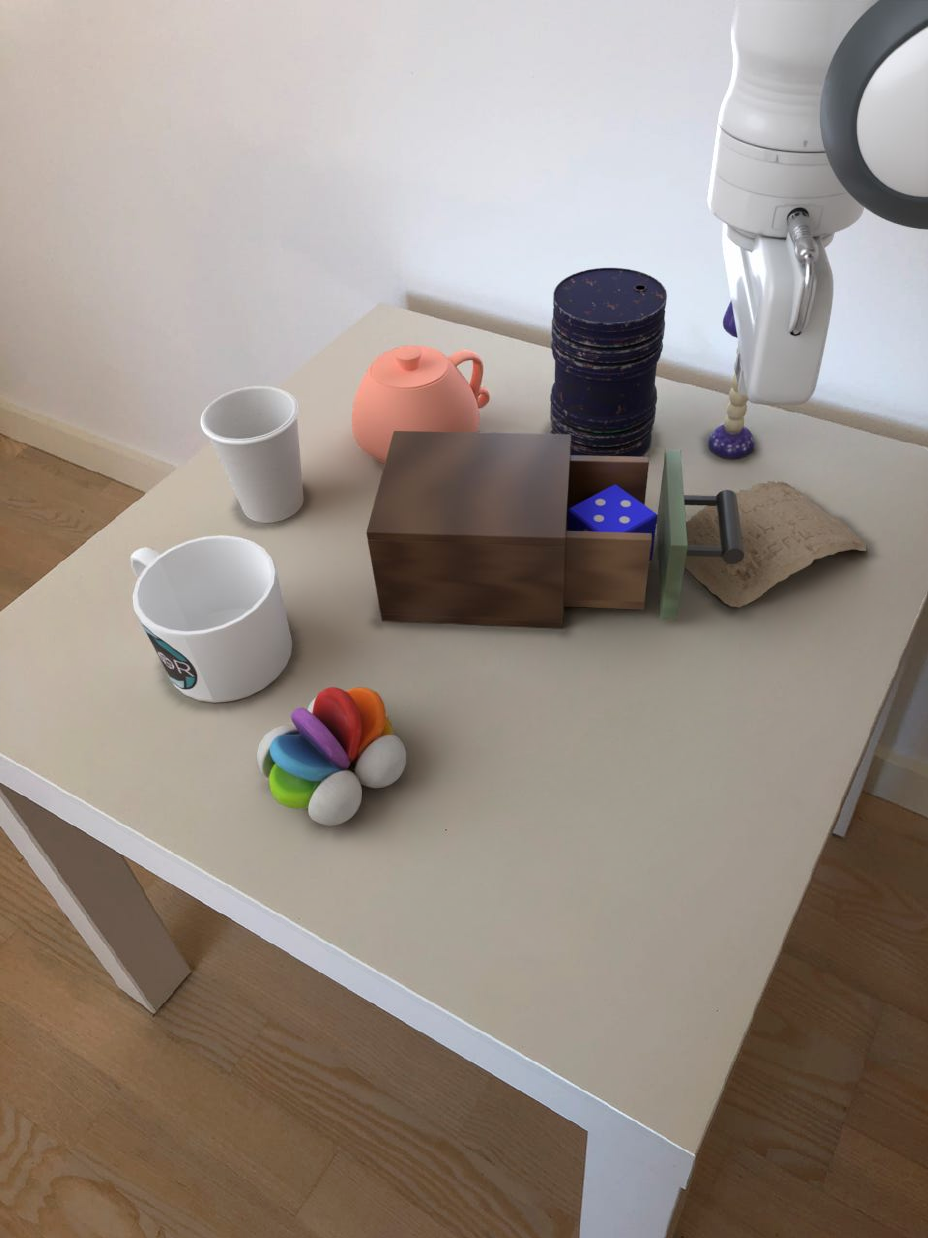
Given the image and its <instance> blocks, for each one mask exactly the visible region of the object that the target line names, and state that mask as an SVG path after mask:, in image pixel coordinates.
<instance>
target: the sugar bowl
mask: <svg viewBox="0 0 928 1238" xmlns="http://www.w3.org/2000/svg"><path fill="white" fill-rule="evenodd" d="M468 361H472V372H471V377H470V381H469V382H468V381H467V379H466V377H465V376H464V374H463V373H462V371H460V370H459V368H458V366H459V365H461V364H463V363H465V362H468ZM483 377H484V363H483V360H482V358H481V356H480V355H479V354H477V352H474V351H473V350H469V349H463V350H458V351H456V352H454V353H452V354H451V355H449V356H448V357H447V355H445V353H443V352H442V351H440V350H438V349H436V348H433V347H430V346H425V345H413V344H407V345H402V346H399V347H396V348H392V349H389V350H387V351H385V352H383V353H382V354H380V355H378V356H377V357H376V358H375V359H374V360H373V361H372V363H371V364H370V365H369V367H368V369H367V370H366V372H365V374H364V375H363V377H362V379H361V381H360V383H359V385H358V388H357V389H356V393H355V395H354V400H353V403H352V410H351V430H352V435H353V438H354V439H355V440H354V441H356V443H357V444H358V446H359V447H360V448H361V450H362V451H364V452H365V453H366V454H367V455H368V456H370V457H372V458H373V459H375V460H376V461H378V462H380V463H382V464H384V465H385V461H386V458H387V454H388V450H389V447H390V443H391V439H392V436H393V432H394V431H422V432H475V433H478V431H479V428H480V424H481V423H480V421H481V417H480V409H483V408H485V407H486V406H487V405H488V404H489V402H490V399H491V395H490V391H489V390H488V389H487V388H486V387H485V386H482V382H483Z"/></svg>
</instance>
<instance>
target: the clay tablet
mask: <svg viewBox="0 0 928 1238" xmlns="http://www.w3.org/2000/svg"><path fill="white" fill-rule="evenodd" d="M735 494H736V496H737V503H738V511H739V518H740V526H741V533H742V541H743V548H744V558H743V560H742V561H741V562H739V563H736V564H728V563H726V562H725V561H724V560H723V558H722V557H703V556H686V560H685V567H684V569H686V570H687V571H688V572H689V573H691V575H692V576H693V577H694V578H695V579H696V580H697V581H698V582H700V584H701V585H704V586H705V587H706V588H707V589H708V590H709V592H710V593H711V594H712V595H716V596H717V597H718V598H719V599H720V601H722V603H724V604H725V605H728V606H729V607H732V608H733V607H736V608H741V607H744V606H746V605H747V606H748V605H749V603H752V602H754V601H755V600H757V599H758V598H761V597H762V596H763V594H764V593H766V592H768V590H769V589H771V588H773V587H774V586H776V585H777V584H778V583H780V582H783V581H784V580H787V578H788V579H789V578H790V577H789V576H790V575H793V574H795V573H797V572H799V571H801V570H804V569H805V568H807V567H808V566H810V565H812V563H813V562H814V560H819V559H823V558H824V557H828V556H829V555H830V556H834V555H835V554H837V553H839V552H845V551H851V550H857V551H858V552H860V551H861V552H866V551H867V549H866V548H867V547H866V543H865V542H864V540H863V539H861V538H860V537H859V536H858V535H857V534H856V533H854V532H853V531H852V530H851V529H850V527H848V525H846V524H845V523H844V522H843V521H842V520H839V519H837V518H835V516H832V515H830V514H828V513H827V512H826V511H824V510H823V508H821V507H820V506H819V505H817V504H816V503H815V502H813V501H812V500H811V499H809V498H808V497H807V496H805V495H804V493H802V491H800V490H798V489H796V487H795V486H792V485H790V484H789V483H787V482H784V481H778V480H777V481H774V480H766V482H760V483H757V484H755V485H752V487H750V488H749V489H741V490H739V491H737V492H735ZM686 529H687V543H688V546H716V547H721V540H720V531H719V522H718V513H717V504H716V506H704V507H703V508H702V509H700V510H699V511H697V512H696V513H695V514H694V515H693V516H691V518H690V519H689V520H688V521H686Z"/></svg>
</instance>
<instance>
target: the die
mask: <svg viewBox="0 0 928 1238" xmlns="http://www.w3.org/2000/svg"><path fill="white" fill-rule="evenodd" d="M657 515H658V513H657V512H655V511H654V510H652V509H650V508H649V507H648V506H646V505H643V504H642V503H641V502H639V501H638V500H637V499H635V498H634V497H632V496H631V495H630V494H628V493H627V492H625V491H624V490H623V489H621V488H620V487H618V486H617V485H613V486H611V487H609V488H607V489H605V490H603V491H601V492H599V493H598V494H596V495H594V496H592V497H590V498H588V499H586V500H584V501H583V502H581V503H579V504H577V505H575V506H573V507H571V508H570V509H569V510H568V531H592V532H624V533H651V534H652V544H651V553H650V561H649V563H651V562H652V561H653V556H654V547H655V540H656V539H655V538H656V533H657Z"/></svg>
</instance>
